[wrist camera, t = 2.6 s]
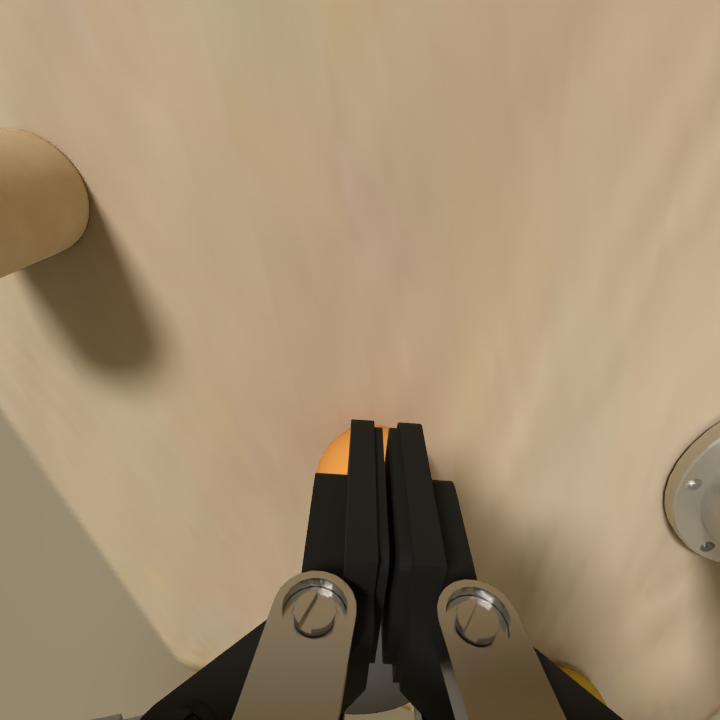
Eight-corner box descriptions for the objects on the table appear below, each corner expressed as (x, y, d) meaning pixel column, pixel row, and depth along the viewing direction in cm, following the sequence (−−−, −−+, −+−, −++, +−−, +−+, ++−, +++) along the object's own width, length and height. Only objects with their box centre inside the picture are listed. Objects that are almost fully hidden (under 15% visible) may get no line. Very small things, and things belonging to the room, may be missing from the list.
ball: (429, 408, 27) (443, 481, 21) (416, 488, 29) (425, 571, 24) (323, 399, 26) (310, 470, 21) (320, 481, 29) (307, 562, 24)
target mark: (449, 616, 35) (449, 618, 35) (423, 717, 41) (423, 719, 41) (260, 601, 35) (260, 604, 35) (264, 705, 41) (264, 708, 41)
